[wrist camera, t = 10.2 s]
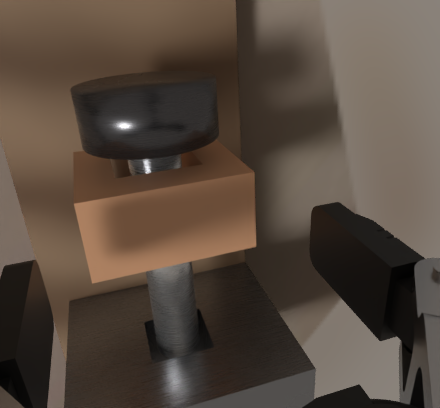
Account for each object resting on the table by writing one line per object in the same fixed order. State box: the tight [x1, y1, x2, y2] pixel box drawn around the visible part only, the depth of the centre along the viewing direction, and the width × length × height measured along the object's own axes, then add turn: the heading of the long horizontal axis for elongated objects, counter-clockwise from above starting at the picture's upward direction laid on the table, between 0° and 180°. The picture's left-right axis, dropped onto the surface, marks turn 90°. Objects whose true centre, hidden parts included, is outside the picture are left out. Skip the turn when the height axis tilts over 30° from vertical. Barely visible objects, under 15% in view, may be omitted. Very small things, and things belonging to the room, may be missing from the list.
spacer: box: [73, 140, 256, 284], centre depth 17 cm, size 3×6×6 cm, turn 93°
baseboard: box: [0, 0, 245, 360], centre depth 21 cm, size 24×11×2 cm, turn 3°
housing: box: [64, 262, 316, 408], centre depth 21 cm, size 6×10×8 cm, turn 93°
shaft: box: [70, 71, 219, 358], centre depth 17 cm, size 12×5×5 cm, turn 3°
